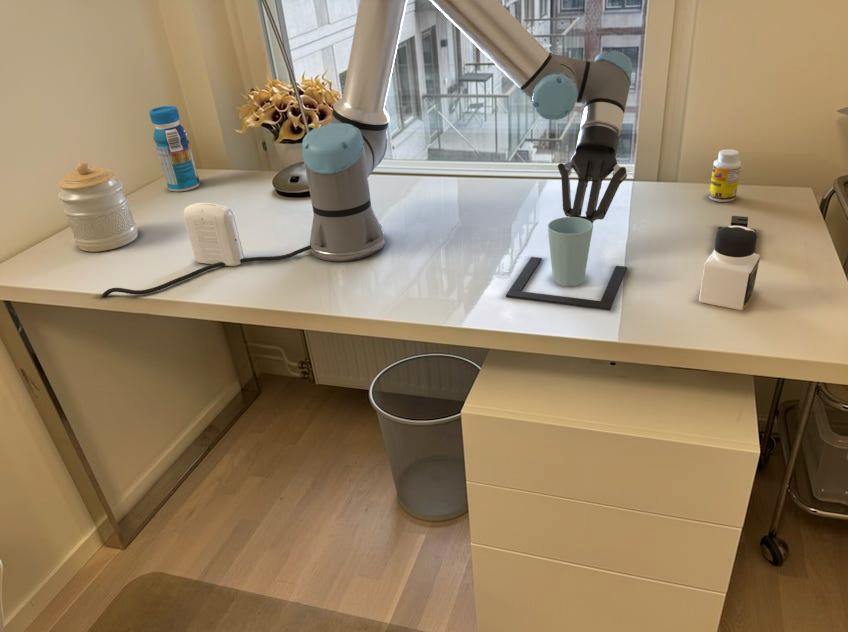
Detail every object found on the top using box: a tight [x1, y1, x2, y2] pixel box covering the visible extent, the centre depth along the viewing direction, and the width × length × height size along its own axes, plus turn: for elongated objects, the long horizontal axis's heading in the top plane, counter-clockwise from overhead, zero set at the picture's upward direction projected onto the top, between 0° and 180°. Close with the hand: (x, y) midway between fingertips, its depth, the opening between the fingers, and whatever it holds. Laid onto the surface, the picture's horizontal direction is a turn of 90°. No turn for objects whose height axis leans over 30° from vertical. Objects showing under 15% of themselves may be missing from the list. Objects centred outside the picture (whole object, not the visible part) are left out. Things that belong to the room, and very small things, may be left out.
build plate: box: [717, 215, 757, 254], centre depth 133 cm, size 12×7×5 cm, turn 159°
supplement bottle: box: [708, 148, 742, 203], centre depth 150 cm, size 6×6×10 cm
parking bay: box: [505, 256, 628, 311], centre depth 124 cm, size 16×18×1 cm
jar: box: [57, 161, 139, 253], centre depth 151 cm, size 13×13×18 cm
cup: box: [547, 216, 594, 287], centre depth 123 cm, size 8×8×10 cm
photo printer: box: [183, 202, 245, 267], centre depth 139 cm, size 10×4×12 cm, turn 72°
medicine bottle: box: [698, 225, 761, 311], centre depth 113 cm, size 7×7×12 cm
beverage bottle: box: [148, 105, 201, 193], centre depth 179 cm, size 8×8×20 cm
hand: (575, 252), depth 127 cm, fingers closed
